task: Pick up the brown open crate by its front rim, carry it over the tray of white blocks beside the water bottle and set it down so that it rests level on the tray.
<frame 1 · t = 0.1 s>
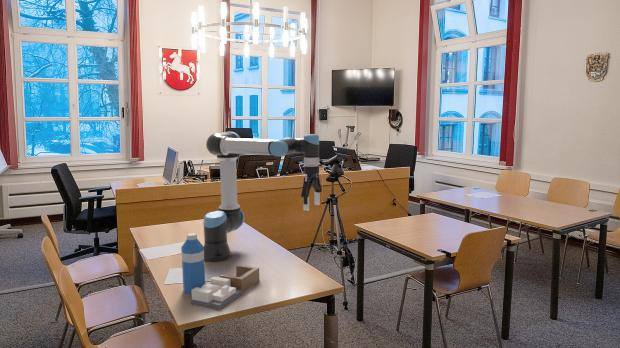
hand: (311, 207, 230), 28 cm above the table, fingers open, 13 cm apart
tray of white blocks: (217, 299, 190), on the table
brown open crate: (248, 286, 203), on the table
water bottle: (194, 290, 199), on the table
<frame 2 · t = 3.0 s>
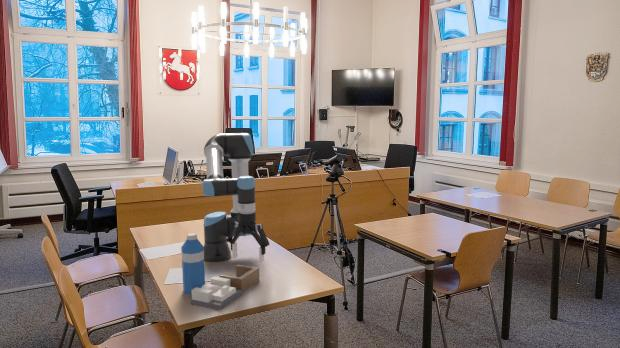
hand: (248, 259, 201), 12 cm above the table, fingers open, 13 cm apart
nothing on the table moved.
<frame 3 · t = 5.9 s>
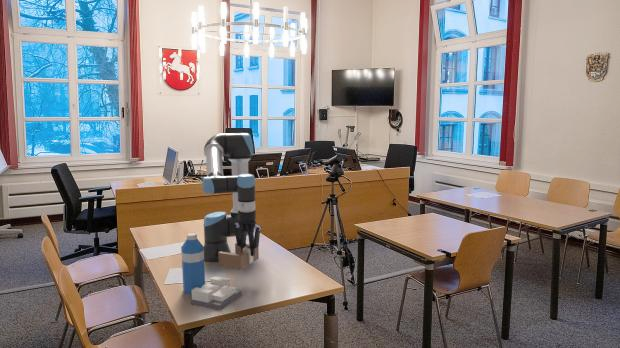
hand: (248, 262, 202), 11 cm above the table, fingers closed on brown open crate, 2 cm apart
brown open crate: (247, 263, 202), point 10 cm above the table, touching gripper
everything else where it was.
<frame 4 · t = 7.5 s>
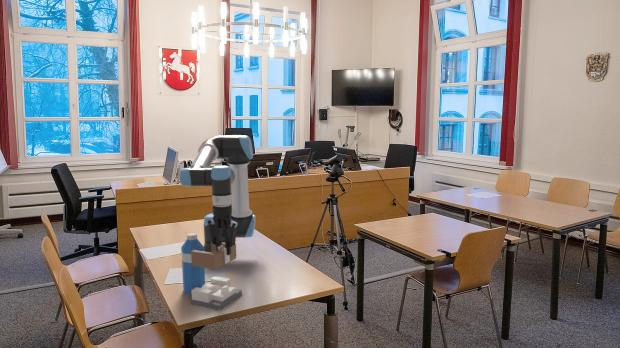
hand: (224, 261, 186), 17 cm above the table, fingers closed on brown open crate, 2 cm apart
brown open crate: (223, 263, 185), point 16 cm above the table, touching gripper
everything else where it was.
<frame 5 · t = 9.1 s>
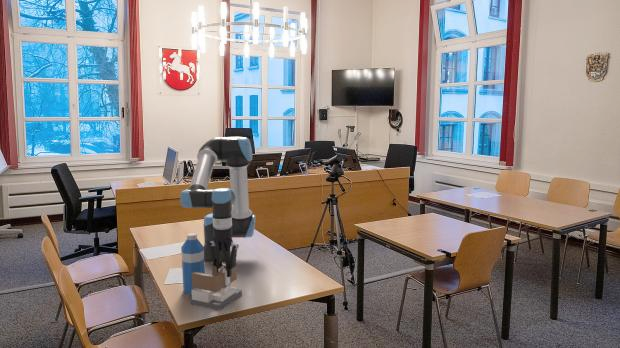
hand: (224, 283, 187), 7 cm above the table, fingers closed on brown open crate, 2 cm apart
brown open crate: (224, 284, 187), point 7 cm above the table, touching gripper
everything else where it was.
when the fingers open (7 cm above the table, at t = 9.5 s): brown open crate stays where it is, resting on tray of white blocks.
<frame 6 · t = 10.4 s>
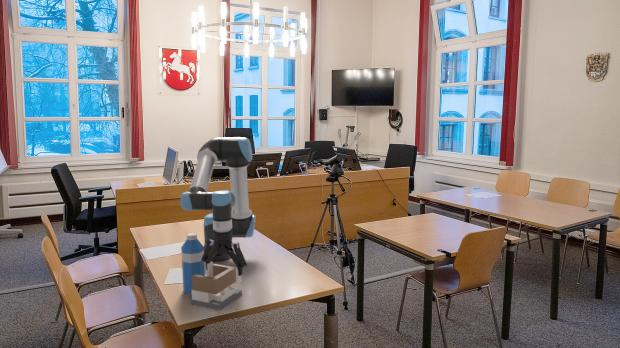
hand: (224, 280, 187), 9 cm above the table, fingers open, 13 cm apart
brown open crate: (224, 287, 187), point 6 cm above the table, touching tray of white blocks
everything else where it was.
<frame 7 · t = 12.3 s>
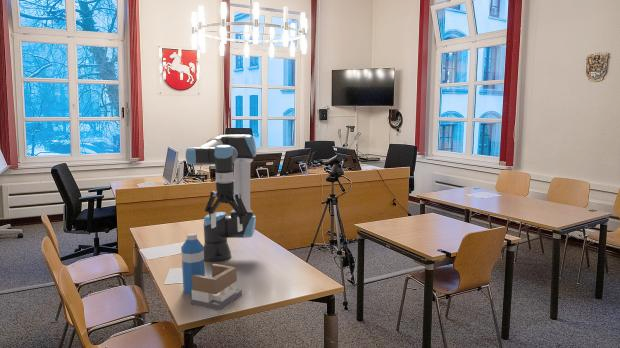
hand: (226, 229, 200), 26 cm above the table, fingers open, 13 cm apart
nothing on the table moved.
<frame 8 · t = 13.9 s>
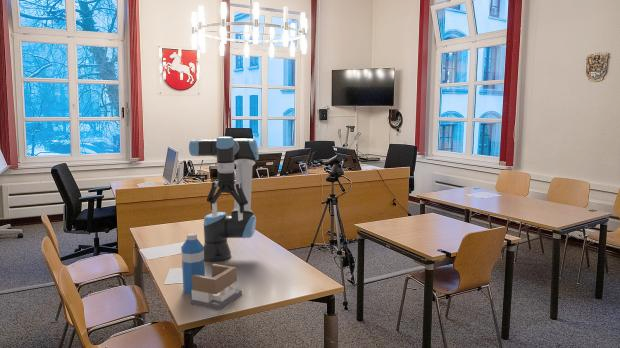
hand: (227, 218, 206), 29 cm above the table, fingers open, 13 cm apart
nothing on the table moved.
at the end: brown open crate 0.3 cm from the target spot on the tray of white blocks, point 6.0 cm above the tray of white blocks's base; brown open crate tilted 0°; brown open crate touching tray of white blocks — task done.
